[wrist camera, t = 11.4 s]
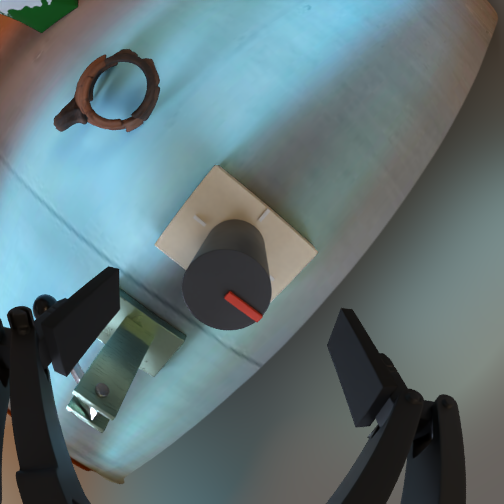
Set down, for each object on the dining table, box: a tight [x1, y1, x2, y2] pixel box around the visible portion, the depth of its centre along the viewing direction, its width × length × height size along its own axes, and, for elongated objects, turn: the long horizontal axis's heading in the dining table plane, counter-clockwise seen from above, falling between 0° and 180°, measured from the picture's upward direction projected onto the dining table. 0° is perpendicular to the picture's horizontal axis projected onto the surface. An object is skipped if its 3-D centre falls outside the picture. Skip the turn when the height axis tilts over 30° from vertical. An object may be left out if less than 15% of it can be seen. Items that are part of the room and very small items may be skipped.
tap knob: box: [182, 219, 272, 330], centre depth 21 cm, size 6×6×10 cm
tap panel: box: [155, 165, 318, 302], centre depth 27 cm, size 13×10×3 cm
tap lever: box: [33, 294, 103, 420], centre depth 22 cm, size 15×4×4 cm, turn 53°
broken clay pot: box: [54, 49, 160, 132], centre depth 21 cm, size 12×9×8 cm
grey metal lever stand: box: [67, 288, 186, 433], centre depth 25 cm, size 11×9×15 cm
